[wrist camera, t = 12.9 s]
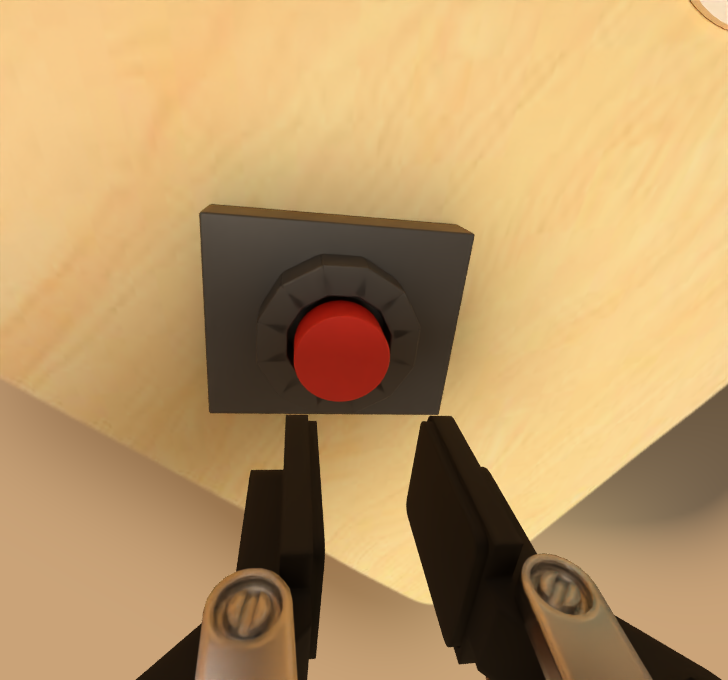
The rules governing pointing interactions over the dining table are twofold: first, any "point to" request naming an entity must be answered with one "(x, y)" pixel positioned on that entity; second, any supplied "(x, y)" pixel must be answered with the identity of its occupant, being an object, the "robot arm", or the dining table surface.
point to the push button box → (320, 285)
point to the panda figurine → (714, 11)
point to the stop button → (340, 351)
